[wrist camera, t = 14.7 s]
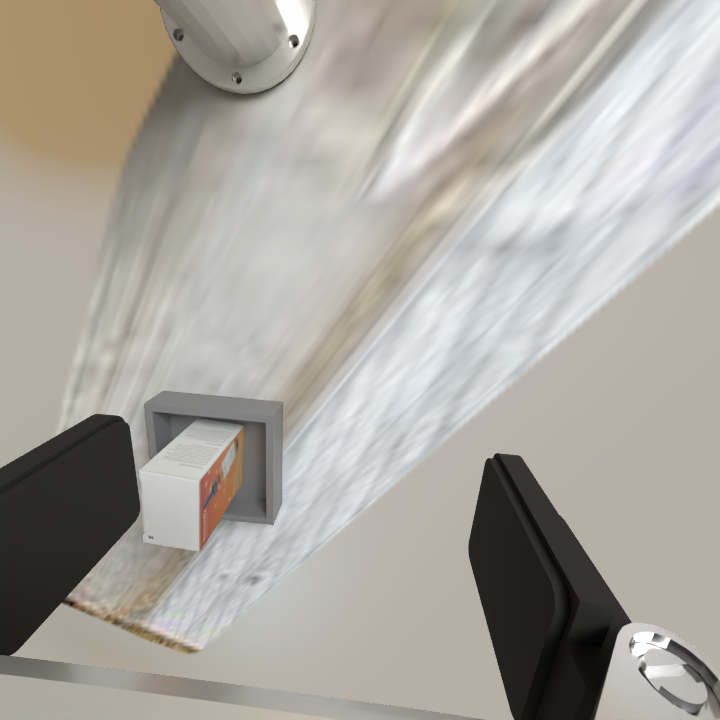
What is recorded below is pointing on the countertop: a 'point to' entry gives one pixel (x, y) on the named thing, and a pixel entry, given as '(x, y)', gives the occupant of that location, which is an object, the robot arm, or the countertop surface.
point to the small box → (191, 484)
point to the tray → (261, 444)
